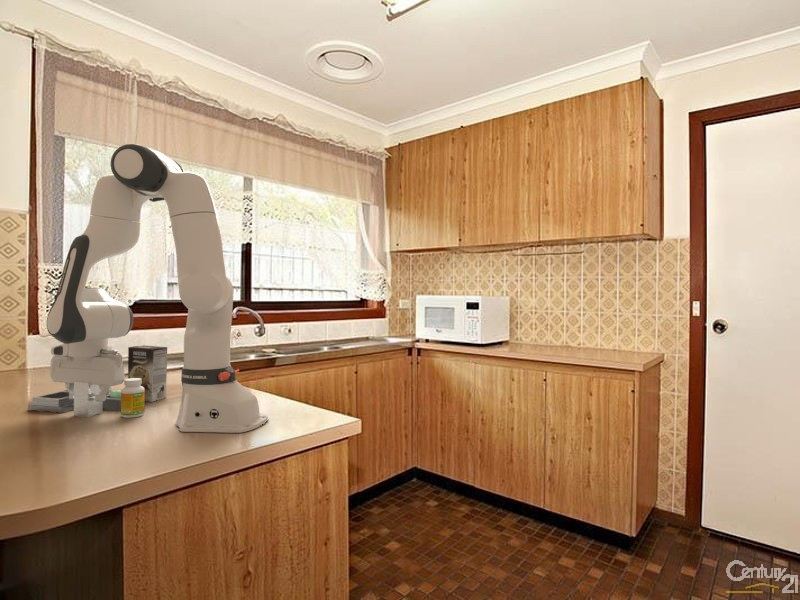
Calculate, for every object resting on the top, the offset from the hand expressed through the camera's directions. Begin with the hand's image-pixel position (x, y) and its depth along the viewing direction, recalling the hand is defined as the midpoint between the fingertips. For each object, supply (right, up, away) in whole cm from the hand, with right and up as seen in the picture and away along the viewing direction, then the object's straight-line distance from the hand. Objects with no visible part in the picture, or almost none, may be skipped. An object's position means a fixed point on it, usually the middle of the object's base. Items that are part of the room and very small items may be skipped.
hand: (87, 400), depth 122 cm
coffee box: (+6, -4, +18) cm, 20 cm away
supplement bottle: (+12, -4, 0) cm, 13 cm away
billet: (0, -4, 0) cm, 4 cm away
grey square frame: (+3, -4, +9) cm, 10 cm away
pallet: (-11, -3, +10) cm, 16 cm away
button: (+3, -2, +9) cm, 10 cm away
